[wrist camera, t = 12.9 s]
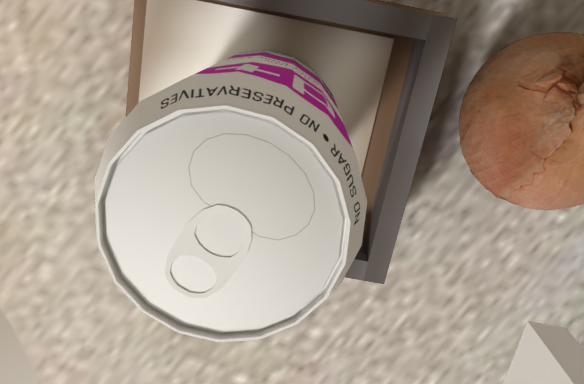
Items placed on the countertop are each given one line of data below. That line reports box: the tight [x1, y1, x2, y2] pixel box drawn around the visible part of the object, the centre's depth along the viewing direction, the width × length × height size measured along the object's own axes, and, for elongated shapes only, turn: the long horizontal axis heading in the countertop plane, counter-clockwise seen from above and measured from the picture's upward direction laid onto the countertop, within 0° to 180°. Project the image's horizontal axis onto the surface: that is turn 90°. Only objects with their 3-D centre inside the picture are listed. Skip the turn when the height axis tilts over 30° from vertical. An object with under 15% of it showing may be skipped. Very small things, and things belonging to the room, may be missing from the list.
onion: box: [459, 32, 584, 210], centre depth 27 cm, size 10×9×10 cm
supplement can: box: [94, 50, 367, 342], centre depth 21 cm, size 8×8×15 cm
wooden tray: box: [126, 0, 457, 284], centre depth 29 cm, size 16×15×6 cm
